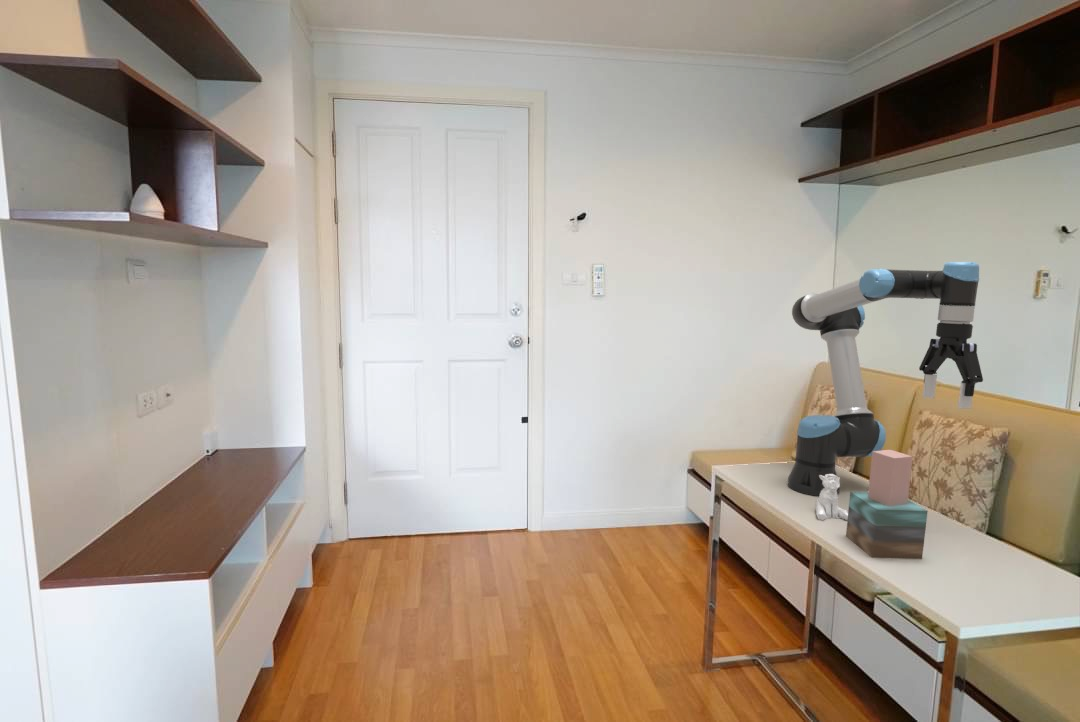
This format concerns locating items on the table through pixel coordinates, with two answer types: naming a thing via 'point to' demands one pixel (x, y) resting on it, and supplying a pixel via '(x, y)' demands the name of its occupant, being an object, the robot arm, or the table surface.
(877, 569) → the table surface
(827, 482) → the sitting furry creature
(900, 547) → the teal topped wooden cube
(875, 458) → the rose brick
